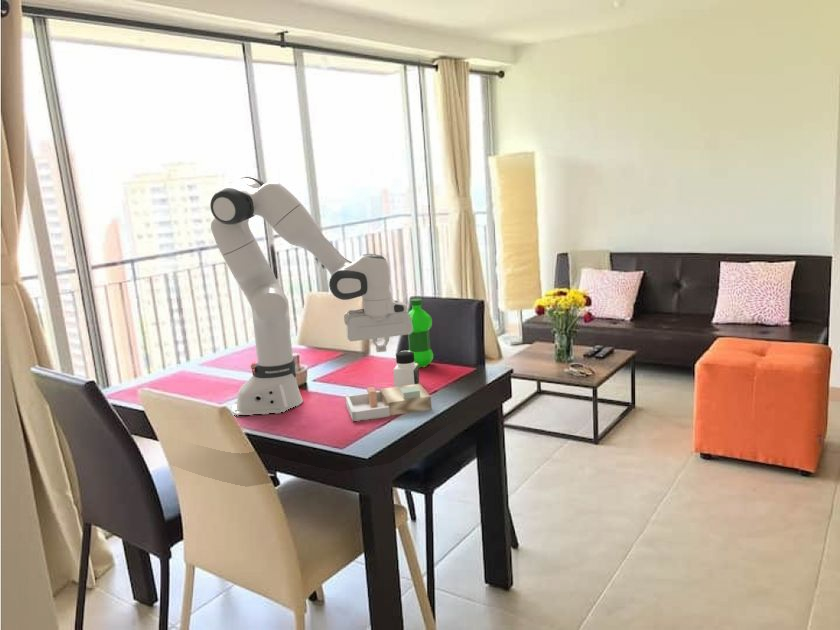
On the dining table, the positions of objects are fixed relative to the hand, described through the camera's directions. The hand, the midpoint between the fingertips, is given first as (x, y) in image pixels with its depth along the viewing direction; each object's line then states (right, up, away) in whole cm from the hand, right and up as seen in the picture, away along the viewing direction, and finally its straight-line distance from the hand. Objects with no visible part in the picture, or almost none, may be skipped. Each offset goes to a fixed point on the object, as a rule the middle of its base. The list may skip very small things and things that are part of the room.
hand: (381, 351), depth 204 cm
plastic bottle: (+12, -8, +43) cm, 46 cm away
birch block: (+7, -17, +2) cm, 18 cm away
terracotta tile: (-2, -14, +3) cm, 15 cm away
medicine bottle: (+8, -13, +20) cm, 25 cm away
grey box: (-4, -18, -1) cm, 19 cm away
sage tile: (+9, -13, -2) cm, 16 cm away
